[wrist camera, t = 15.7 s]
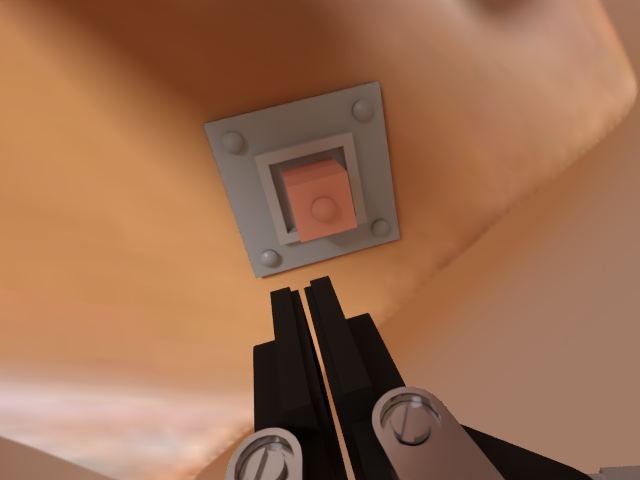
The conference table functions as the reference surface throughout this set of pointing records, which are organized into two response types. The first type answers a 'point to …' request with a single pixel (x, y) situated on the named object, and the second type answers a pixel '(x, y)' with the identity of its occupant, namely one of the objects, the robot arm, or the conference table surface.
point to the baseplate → (297, 149)
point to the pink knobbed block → (320, 198)
